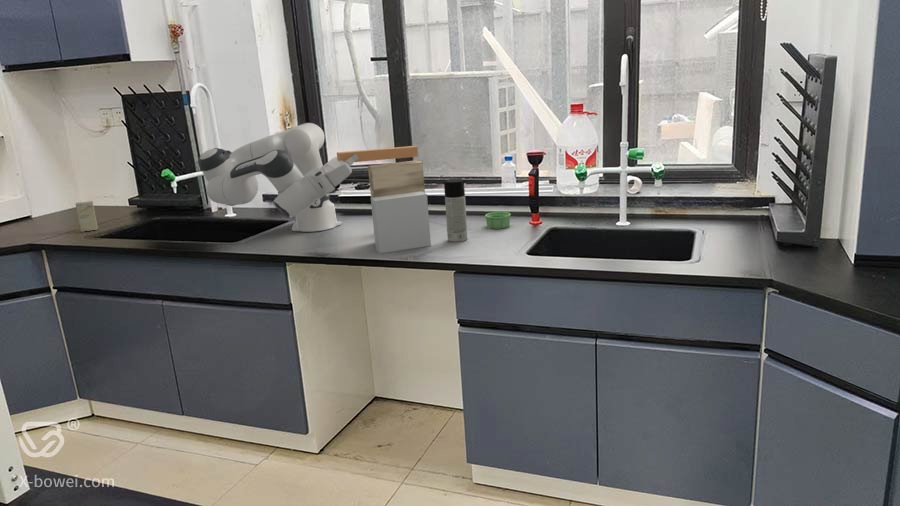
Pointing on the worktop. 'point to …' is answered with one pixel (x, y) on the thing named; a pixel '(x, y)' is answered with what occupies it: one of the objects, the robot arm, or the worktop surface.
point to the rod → (380, 154)
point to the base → (401, 221)
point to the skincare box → (86, 216)
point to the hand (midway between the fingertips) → (355, 154)
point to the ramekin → (498, 220)
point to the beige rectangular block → (396, 178)
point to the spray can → (455, 210)
